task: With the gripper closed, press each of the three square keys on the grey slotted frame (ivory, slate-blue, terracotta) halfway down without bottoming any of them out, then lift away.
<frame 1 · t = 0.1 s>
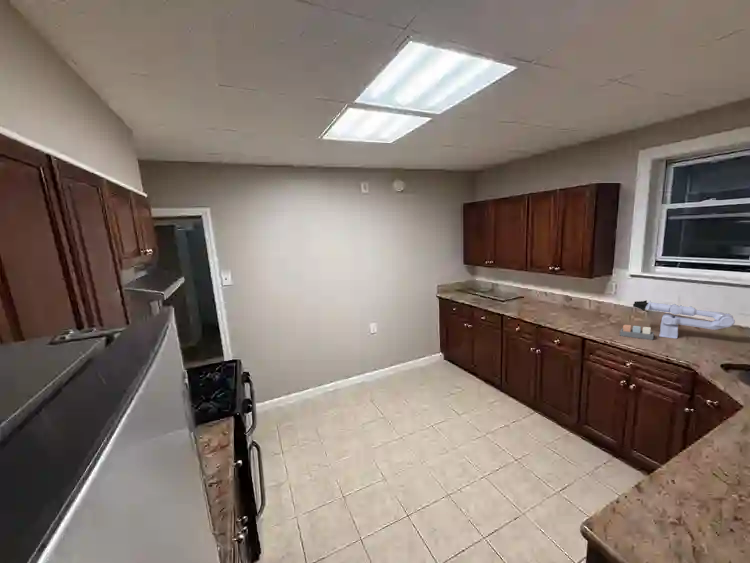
hand: (633, 304, 242), 21 cm above the countertop, tool horizontal, fingers open, 7 cm apart
key slate: (636, 329, 235), point 5 cm above the countertop, slide at 0.0 cm
grey slotted frame: (636, 336, 236), on the countertop
key terracotta: (627, 328, 239), point 5 cm above the countertop, slide at 0.0 cm
key ivory: (646, 330, 232), point 5 cm above the countertop, slide at 0.0 cm
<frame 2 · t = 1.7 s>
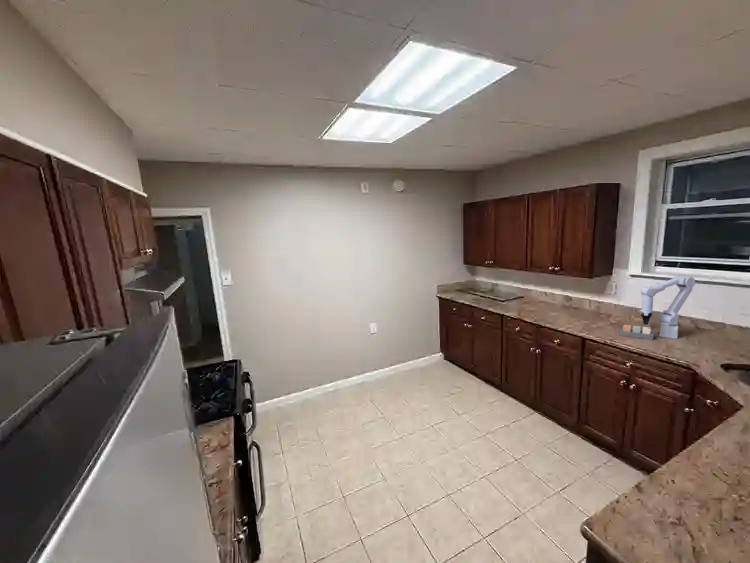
hand: (646, 323, 231), 10 cm above the countertop, tool pointing down, fingers open, 6 cm apart
nothing on the countertop moved.
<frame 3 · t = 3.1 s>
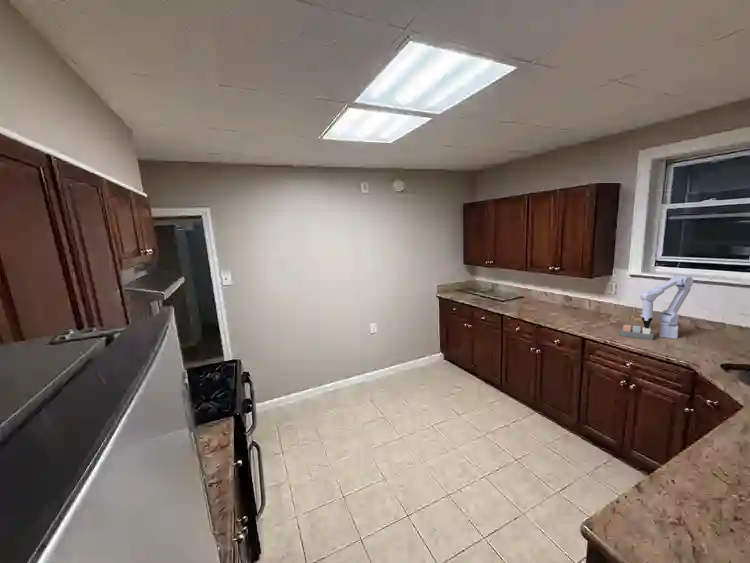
hand: (646, 328, 231), 7 cm above the countertop, tool pointing down, fingers closed, pressing on key ivory
key ivory: (646, 330, 232), point 5 cm above the countertop, slide at 0.1 cm, touching gripper
everything else where it was.
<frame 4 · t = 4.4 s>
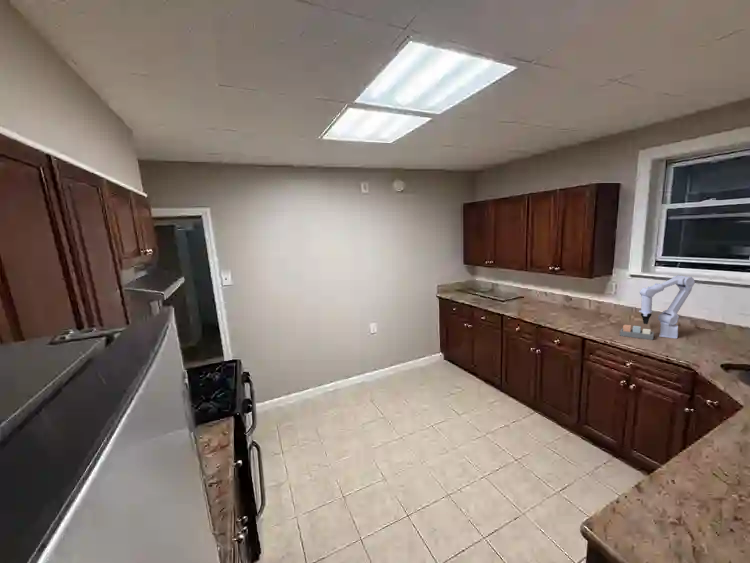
hand: (645, 323, 231), 10 cm above the countertop, tool pointing down, fingers closed
key ivory: (646, 332, 232), point 4 cm above the countertop, slide at 1.4 cm
everything else where it was.
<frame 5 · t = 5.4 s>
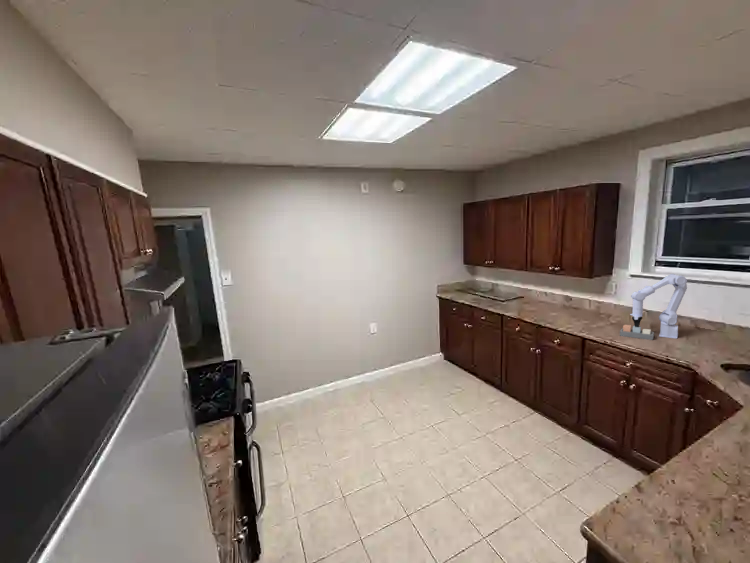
hand: (636, 326, 235), 7 cm above the countertop, tool pointing down, fingers closed, pressing on key slate
key slate: (636, 329, 235), point 5 cm above the countertop, slide at 0.0 cm, touching gripper
everything else where it was.
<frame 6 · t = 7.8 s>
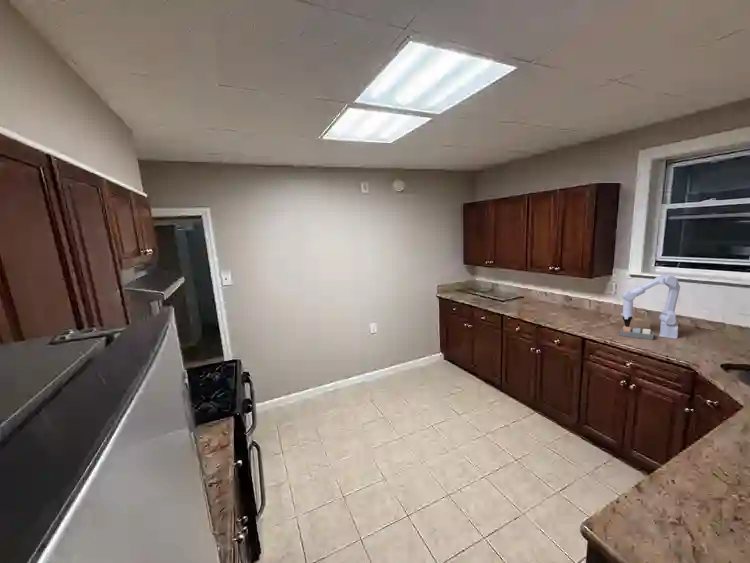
hand: (627, 326, 239), 6 cm above the countertop, tool pointing down, fingers closed, pressing on key terracotta
key slate: (636, 331, 236), point 4 cm above the countertop, slide at 1.4 cm
key terracotta: (627, 328, 239), point 5 cm above the countertop, slide at 0.6 cm, touching gripper
everything else where it was.
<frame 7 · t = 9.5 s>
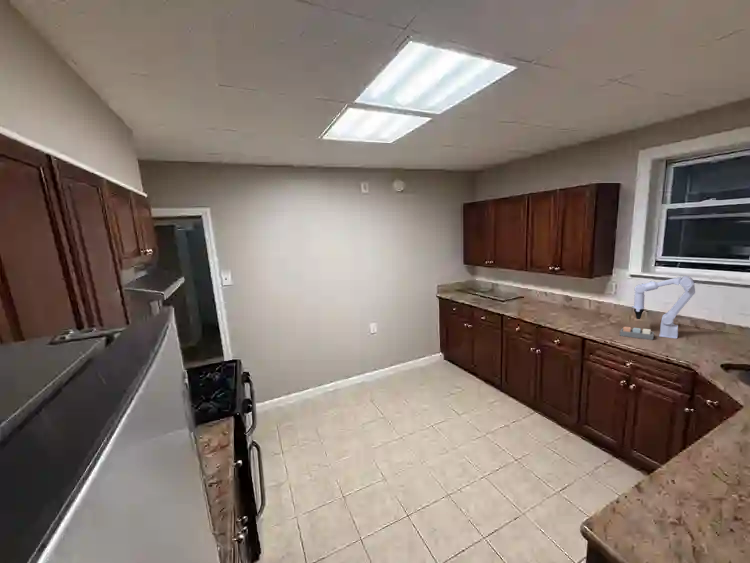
hand: (638, 318, 242), 10 cm above the countertop, tool pointing down, fingers closed
key terracotta: (627, 330, 239), point 4 cm above the countertop, slide at 1.4 cm
everything else where it was.
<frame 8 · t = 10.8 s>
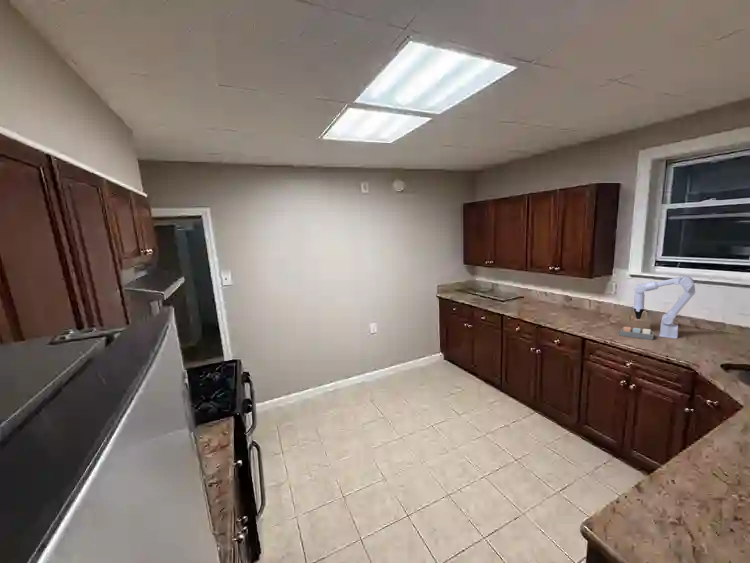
hand: (638, 318, 242), 10 cm above the countertop, tool pointing down, fingers closed
nothing on the countertop moved.
at the end: key ivory slide at 1.4 cm; key slate slide at 1.4 cm; key terracotta slide at 1.4 cm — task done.
